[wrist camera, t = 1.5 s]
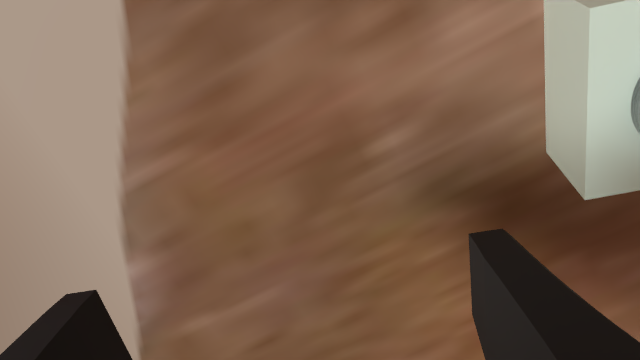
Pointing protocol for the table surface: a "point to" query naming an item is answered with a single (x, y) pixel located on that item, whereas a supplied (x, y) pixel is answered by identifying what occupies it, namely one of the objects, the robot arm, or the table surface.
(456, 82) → the table surface
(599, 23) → the block
